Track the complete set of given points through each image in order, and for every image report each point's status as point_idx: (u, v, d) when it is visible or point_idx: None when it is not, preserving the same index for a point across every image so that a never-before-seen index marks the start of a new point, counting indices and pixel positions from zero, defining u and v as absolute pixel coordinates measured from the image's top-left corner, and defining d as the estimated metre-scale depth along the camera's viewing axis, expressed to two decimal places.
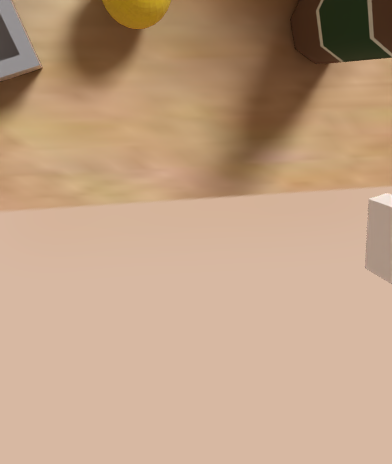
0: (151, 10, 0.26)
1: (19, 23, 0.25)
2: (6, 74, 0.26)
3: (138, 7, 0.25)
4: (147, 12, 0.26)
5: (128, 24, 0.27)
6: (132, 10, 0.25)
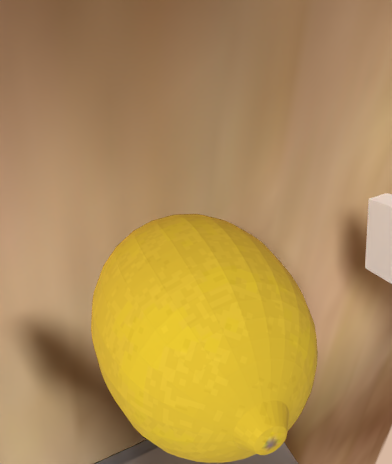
0: (316, 354, 0.08)
1: None
2: None
3: None
4: None
5: None
6: None
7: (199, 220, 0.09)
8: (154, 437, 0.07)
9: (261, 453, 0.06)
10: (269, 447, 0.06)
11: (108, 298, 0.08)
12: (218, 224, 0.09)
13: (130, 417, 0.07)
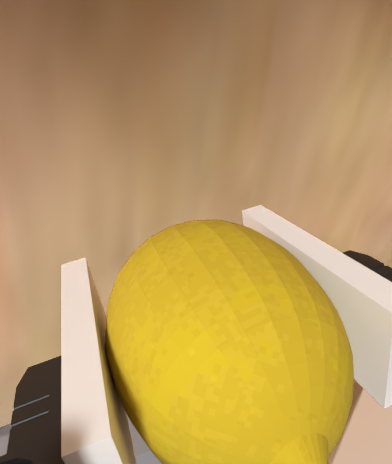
0: None
1: None
2: None
3: None
4: None
5: None
6: None
7: (222, 227, 0.08)
8: None
9: None
10: None
11: (125, 313, 0.07)
12: (243, 232, 0.08)
13: (151, 445, 0.07)
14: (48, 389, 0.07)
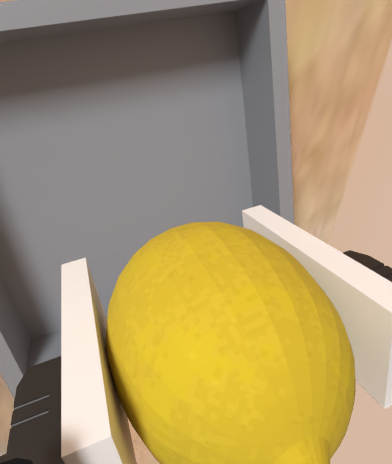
0: None
1: None
2: (284, 27, 0.19)
3: None
4: None
5: None
6: None
7: (223, 229, 0.08)
8: None
9: None
10: None
11: (126, 316, 0.07)
12: (244, 234, 0.08)
13: (152, 449, 0.07)
14: (48, 389, 0.07)
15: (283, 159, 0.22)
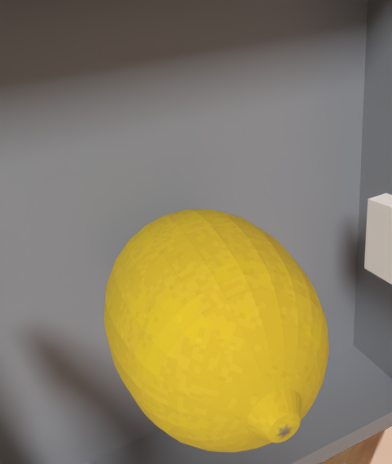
0: (328, 346, 0.08)
1: None
2: None
3: None
4: None
5: None
6: None
7: (211, 214, 0.09)
8: (168, 425, 0.07)
9: (275, 440, 0.06)
10: (283, 435, 0.06)
11: (122, 289, 0.08)
12: (230, 218, 0.09)
13: (144, 406, 0.07)
14: None
15: None
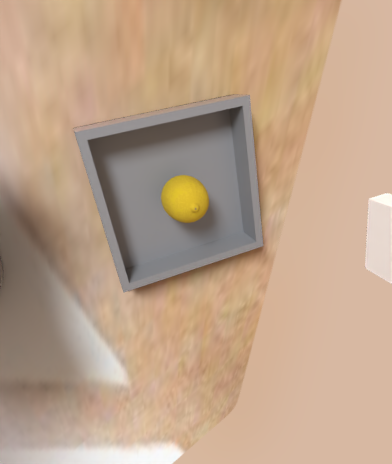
0: (208, 201, 0.40)
1: (227, 100, 0.40)
2: (251, 117, 0.41)
3: (206, 209, 0.41)
4: (208, 203, 0.41)
5: None
6: None
7: (185, 175, 0.42)
8: (176, 212, 0.40)
9: (194, 210, 0.39)
10: (195, 209, 0.39)
11: (166, 190, 0.40)
12: (189, 176, 0.41)
13: (171, 209, 0.40)
14: None
15: (253, 175, 0.44)
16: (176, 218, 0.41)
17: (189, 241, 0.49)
